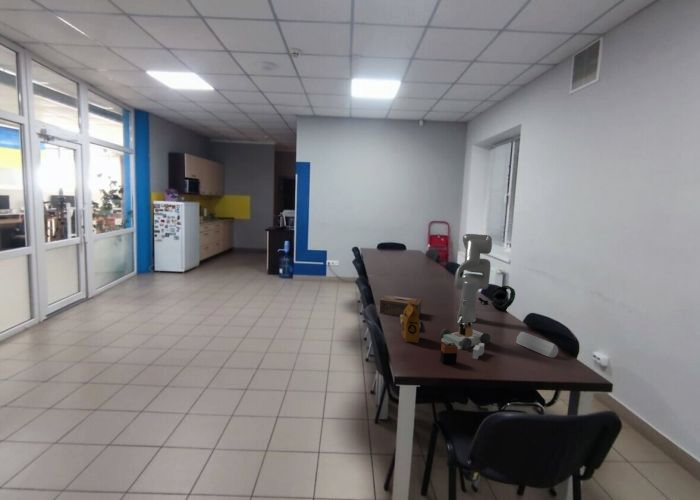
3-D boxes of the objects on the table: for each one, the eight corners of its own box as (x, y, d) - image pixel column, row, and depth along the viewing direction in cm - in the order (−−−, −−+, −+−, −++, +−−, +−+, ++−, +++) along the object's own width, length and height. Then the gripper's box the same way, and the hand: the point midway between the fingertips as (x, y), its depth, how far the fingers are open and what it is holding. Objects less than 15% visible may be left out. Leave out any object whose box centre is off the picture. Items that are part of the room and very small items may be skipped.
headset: (489, 315, 294) (516, 308, 269) (475, 308, 292) (501, 300, 267) (492, 295, 303) (519, 286, 277) (478, 288, 300) (505, 278, 275)
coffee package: (402, 342, 208) (405, 304, 204) (400, 334, 220) (402, 298, 217) (420, 343, 207) (423, 305, 204) (417, 335, 219) (420, 299, 216)
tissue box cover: (420, 313, 264) (421, 299, 262) (416, 319, 250) (417, 304, 249) (385, 308, 272) (385, 294, 271) (379, 313, 259) (380, 299, 258)
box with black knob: (458, 333, 214) (459, 323, 213) (463, 332, 217) (464, 322, 216) (466, 337, 209) (467, 327, 208) (472, 336, 212) (473, 325, 211)
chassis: (466, 333, 227) (467, 323, 226) (490, 343, 213) (491, 332, 212) (438, 339, 214) (439, 329, 213) (462, 350, 200) (463, 340, 199)
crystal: (511, 336, 214) (550, 352, 193) (519, 329, 217) (559, 344, 196) (514, 346, 217) (553, 363, 196) (522, 339, 219) (561, 355, 198)
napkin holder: (475, 362, 187) (476, 351, 187) (460, 353, 198) (461, 343, 197) (498, 358, 193) (499, 348, 192) (483, 350, 203) (484, 340, 203)
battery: (439, 360, 187) (441, 341, 185) (452, 360, 187) (454, 341, 186) (443, 364, 182) (444, 344, 181) (456, 364, 183) (458, 344, 182)
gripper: (472, 299, 218) (469, 329, 221) (452, 302, 209) (449, 333, 211) (483, 302, 212) (480, 333, 214) (463, 305, 203) (460, 338, 205)
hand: (465, 333), depth 213 cm, fingers closed on box with black knob, 4 cm apart
